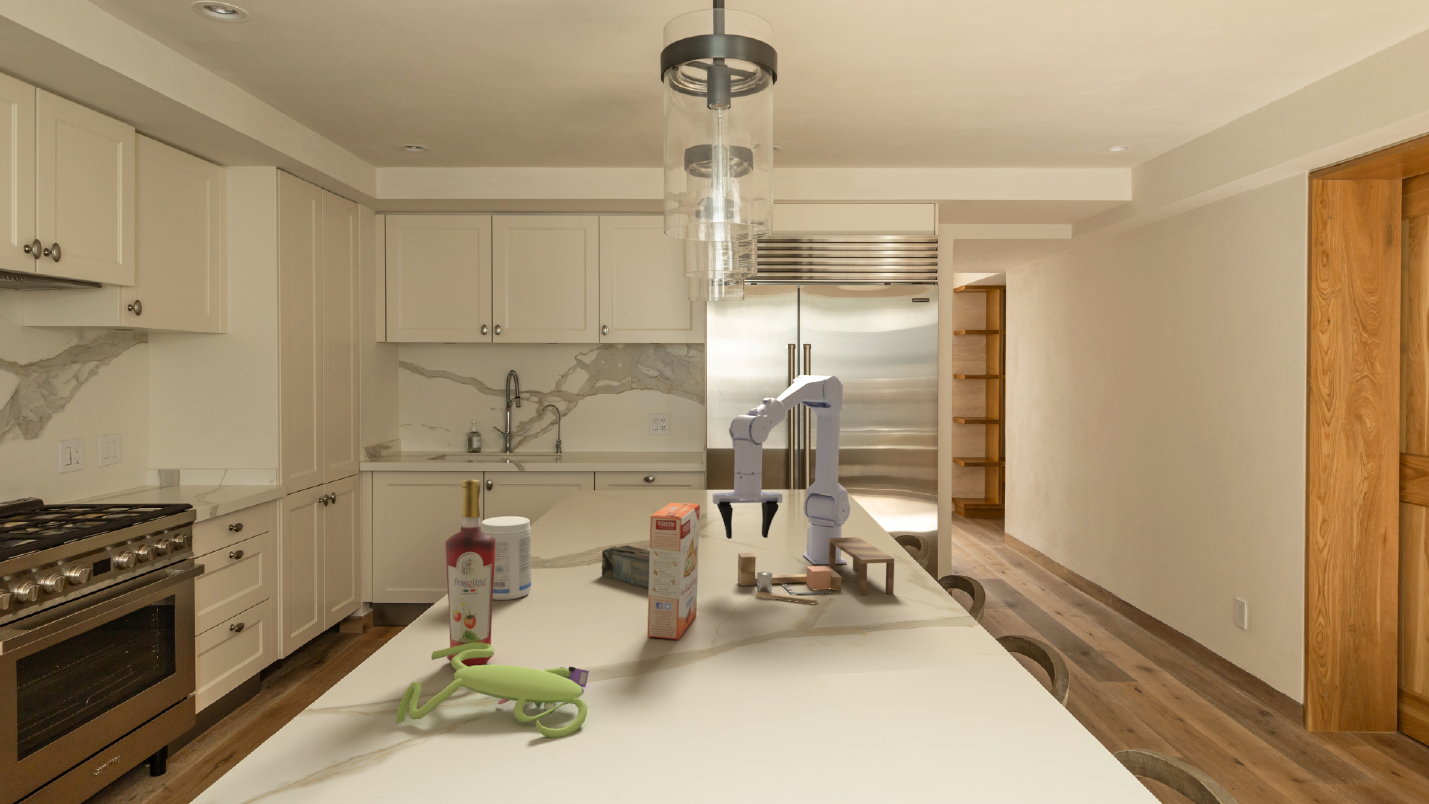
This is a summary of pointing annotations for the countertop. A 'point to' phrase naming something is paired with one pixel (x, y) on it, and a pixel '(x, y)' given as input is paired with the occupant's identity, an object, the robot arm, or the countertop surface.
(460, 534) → the liquor
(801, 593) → the tape bracket
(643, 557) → the beverage carton
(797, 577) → the oak crook
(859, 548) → the wooden bench
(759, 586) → the spice tin
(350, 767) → the countertop surface
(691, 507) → the cracker box
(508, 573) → the supplement tub
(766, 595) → the maple bar
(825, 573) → the terracotta cube
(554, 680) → the figurine
